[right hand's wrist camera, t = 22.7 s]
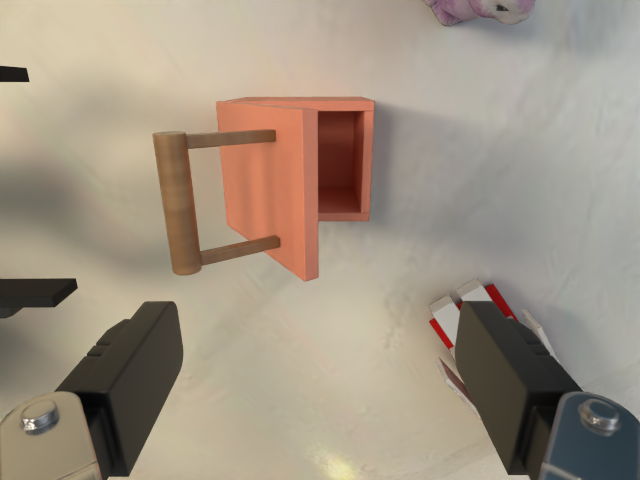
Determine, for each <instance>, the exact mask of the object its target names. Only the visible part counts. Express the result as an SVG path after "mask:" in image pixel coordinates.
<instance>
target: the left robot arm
mask: <svg viewBox="0 0 640 480" xmlns="http://www.w3.org/2000/svg"><path fill="white" fill-rule="evenodd" d="M0 82H30V81H29V77H28V73H27V69H26V68H19V67H7V66H0ZM77 288H78V287H77V282H76V278H75V279H0V318H8V317H10V316H13V315H14V314H15V313H17V312H18V311H19V310H21V309H22V308H24V307H56V306H57V305H58V304H59V303H60V302H62V301H63V300H64V299H65V298H66V297H68V296H69V295H70V294H71V293H72V292H74V291H75V290H76V289H77Z"/></svg>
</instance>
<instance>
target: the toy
mask: <svg viewBox="0 0 640 480" xmlns="http://www.w3.org/2000/svg"><path fill="white" fill-rule="evenodd" d="M456 291H457V293H458V294H459V296H460V297H461V299H462V300H463V302H464V301H493V302H494V303H495V304H496V305H497V307H498V308H499V309H500V310H501V312H502V313H503V314H504V315H505V317H506V318H507V319H515V320H516V321H518V320H517V318H516V317H515V316H514V314H513V313H512V311H511V310H510V308H509V307H508V305H507V304H506V302H505V301H504V299H503V298H502V296H501V295H500V293H499V292H498V290H497V289H496V287H495V286H494V285H493V284H491V285H490V286H488V287H486V288H485V289H484V287H483V286H482V284H481V283H480V282H479V281H478V279H477V278H476V279H474V280H473V281H471V282H469V283H467V284H466V285H464V286H462V287H460V288H459V289H457V290H456ZM463 302H461V303H459V304H458V305H455V303H454V302H453V300H452V299H451V297H450V296H449V294H448V295H447V296H445V297H443V298H441V299H440V300H438V301H436V302H434V303H433V304H431V305H429V308H430V310H431V313H432V314H433V316H434V317H435V318H434V319H433V320H431V321H429V322H430V324H431V325H432V327H433V328H434V330H435V331H436V332H437V334H438V335H439V337H440V338H441V339H442V341H443V342H444V344H445V345H446V346H447V348H448V349H449V351H450V352H451V354H452V357H453V359H454V361H455V343H456V336H457V329H458V322H459V315H460V309H461V305H462V303H463ZM521 312H522V314H523V316H524V318H525V320H526V322H527V323H528V325H529V327H530V329H531V331H532V332H533V334H534V335H535V336H536V337H537V338H538V339H539V341H540V342H541V345H544V346H545V348H546V349H547V350H548V351H549V352H550V356H553V357H554V358H555V359H556V360H557V362H558V363H559V361H558V359H557V357H556V355H555V353H554V351H553V349H552V347H551V345H550V343H549V341H548V339H547V337H546V335H545V333H544V331H543V329H542V327H541V326H540V325H539V323H538V322H537V321H536V320H535V319H534V318H533V317H532V316H531V314H530V313H529V312H528V311H527V310H526V309H524V310H522V311H521ZM518 322H519V321H518ZM435 360H436V362H437V365H438V367H439V369H440V371H441V374H442V376H443V378H444V381H445V382H446V383H447V384H448V385H449V386H450V387H451V388H452V389H453V390H454V391H455V392H456V394H457V395H458V396H459V397H460V398H461V399H462V400H463V401H464V402H465V403H466V404H467V405H468V406H469V407H470V409H471V410H472V411H473V412H474V413H475V414H476V415H477V416H478V417H479V418H480V419H481V417H480V415H479V413H478V411H477V409H476V407H475V405H474V403H473V401H472V399H471V397H470V395H469V393H468V390H467V388H466V386H465V385H464V384H463V383H462V382H461V381H460V380H459V378H458V377H457V376H456V375H455V374H454V373H453V372H452V371H451V370H450V369H449V368H448V366H447V365H446V364H445V363H444V362H443V361H442V360H441V359H440V358H439V357H438V358H436V359H435ZM455 364H456V362H455ZM559 364H560V363H559ZM481 420H482V419H481ZM527 476H528V475H527ZM528 478H529V476H528ZM529 479H530V478H529Z"/></svg>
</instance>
